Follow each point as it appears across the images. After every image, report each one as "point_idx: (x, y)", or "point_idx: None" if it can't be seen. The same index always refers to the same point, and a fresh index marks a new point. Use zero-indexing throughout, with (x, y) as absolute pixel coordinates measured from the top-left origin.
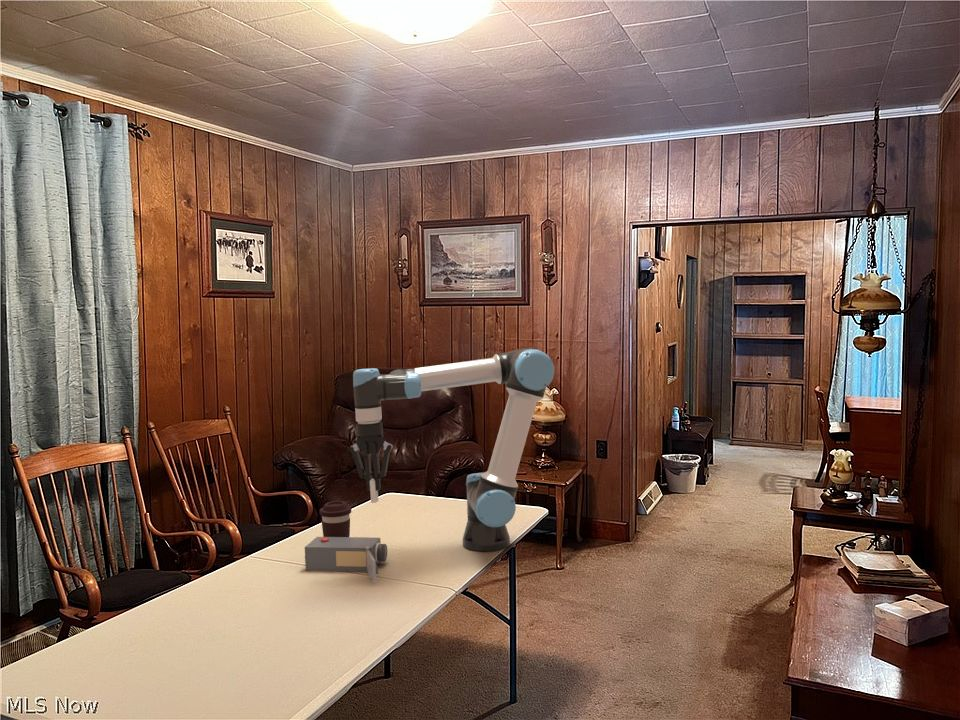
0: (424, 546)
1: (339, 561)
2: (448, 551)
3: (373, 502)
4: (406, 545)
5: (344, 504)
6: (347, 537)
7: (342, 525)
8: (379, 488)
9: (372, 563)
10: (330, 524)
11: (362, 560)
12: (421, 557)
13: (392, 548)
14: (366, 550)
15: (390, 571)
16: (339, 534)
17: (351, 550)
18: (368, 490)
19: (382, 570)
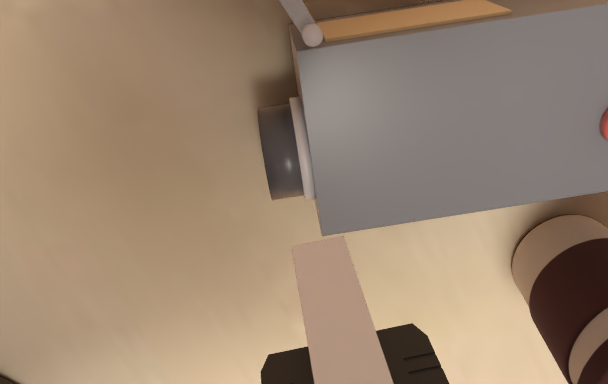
0: (198, 365)
1: (470, 4)
2: (66, 338)
3: (319, 242)
4: None
5: None
6: (508, 202)
7: (582, 305)
8: (262, 374)
9: None
10: None
11: (340, 25)
12: (145, 252)
13: None
14: (310, 15)
15: (198, 53)
16: (574, 267)
17: (416, 28)
18: (402, 328)
19: (245, 58)
